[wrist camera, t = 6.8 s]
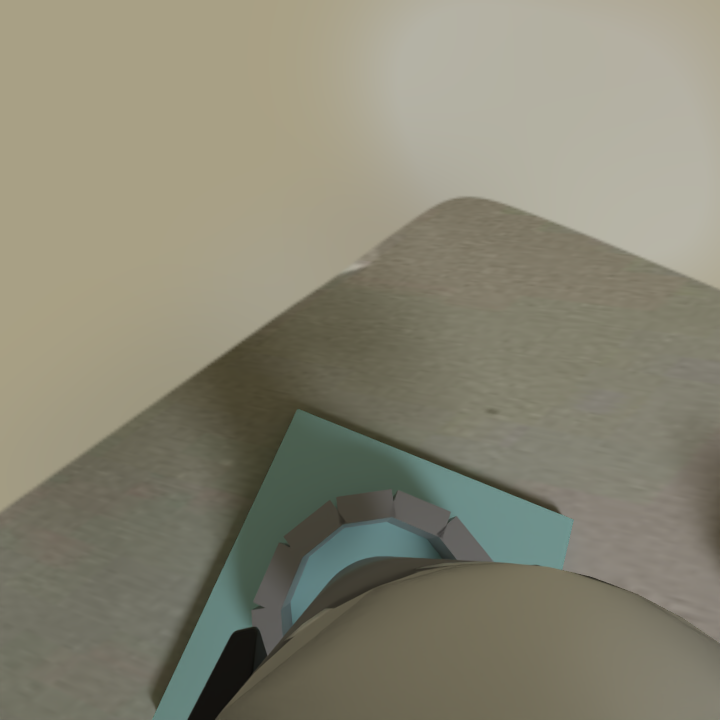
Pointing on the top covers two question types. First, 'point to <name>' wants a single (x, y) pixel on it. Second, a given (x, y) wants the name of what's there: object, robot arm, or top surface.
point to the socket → (349, 536)
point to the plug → (481, 650)
